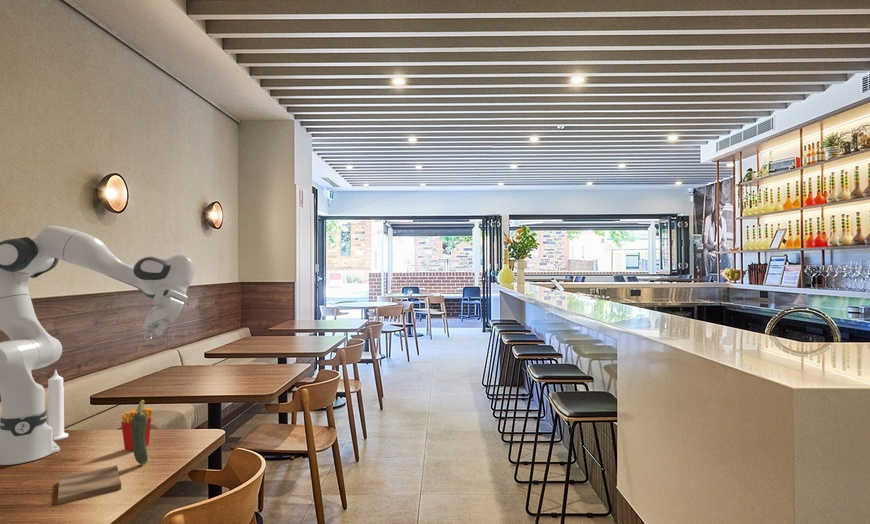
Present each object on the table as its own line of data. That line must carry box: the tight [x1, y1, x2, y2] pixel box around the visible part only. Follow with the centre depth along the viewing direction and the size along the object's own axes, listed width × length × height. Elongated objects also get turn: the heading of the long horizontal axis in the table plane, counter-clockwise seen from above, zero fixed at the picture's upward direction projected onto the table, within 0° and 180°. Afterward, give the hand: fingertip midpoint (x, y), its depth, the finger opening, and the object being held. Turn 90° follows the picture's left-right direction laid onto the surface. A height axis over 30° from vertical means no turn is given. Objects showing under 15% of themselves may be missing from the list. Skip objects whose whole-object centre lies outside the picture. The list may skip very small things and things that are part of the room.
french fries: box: [120, 407, 153, 450], centre depth 172 cm, size 9×4×13 cm, turn 131°
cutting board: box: [57, 464, 122, 505], centre depth 141 cm, size 17×14×2 cm
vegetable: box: [131, 399, 148, 466], centre depth 156 cm, size 4×4×20 cm
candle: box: [47, 369, 69, 442], centre depth 184 cm, size 7×7×25 cm
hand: (152, 337), depth 163 cm, fingers open, 8 cm apart
